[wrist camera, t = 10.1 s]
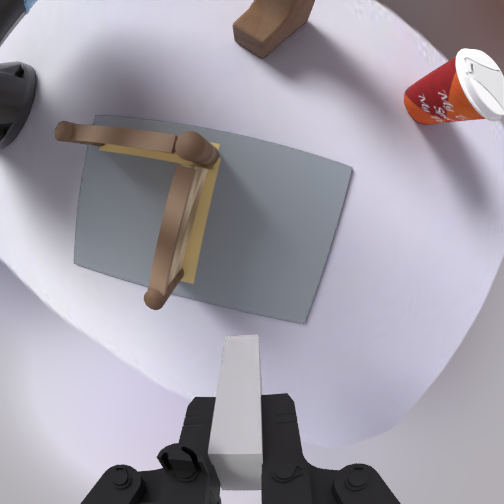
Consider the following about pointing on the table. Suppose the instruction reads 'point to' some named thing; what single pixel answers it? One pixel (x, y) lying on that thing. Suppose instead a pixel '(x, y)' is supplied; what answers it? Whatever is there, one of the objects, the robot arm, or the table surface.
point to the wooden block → (270, 23)
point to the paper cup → (458, 91)
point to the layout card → (215, 218)
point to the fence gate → (175, 233)
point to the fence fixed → (141, 140)
